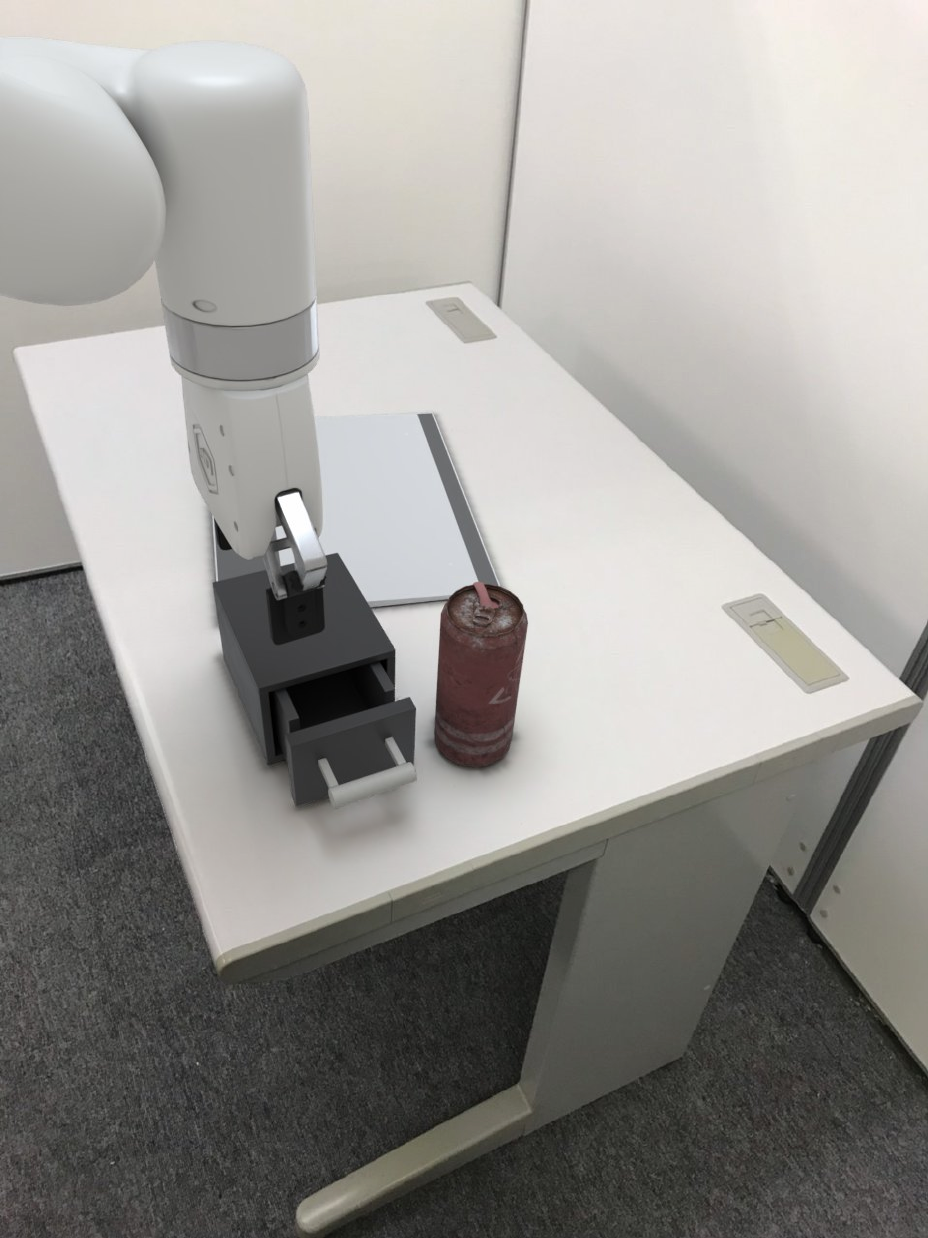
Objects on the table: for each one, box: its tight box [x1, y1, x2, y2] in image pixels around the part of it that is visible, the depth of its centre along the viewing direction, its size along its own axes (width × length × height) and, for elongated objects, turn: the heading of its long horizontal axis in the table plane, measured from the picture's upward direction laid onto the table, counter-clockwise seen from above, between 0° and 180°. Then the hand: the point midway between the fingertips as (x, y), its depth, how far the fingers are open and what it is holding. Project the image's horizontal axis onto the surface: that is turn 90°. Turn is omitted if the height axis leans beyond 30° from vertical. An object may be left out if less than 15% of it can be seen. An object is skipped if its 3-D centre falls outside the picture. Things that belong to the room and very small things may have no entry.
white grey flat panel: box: [211, 412, 501, 608], centre depth 98 cm, size 32×26×1 cm
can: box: [433, 582, 529, 768], centre depth 72 cm, size 6×6×14 cm
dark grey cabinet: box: [211, 553, 397, 765], centre depth 76 cm, size 12×10×8 cm
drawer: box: [269, 661, 418, 809], centre depth 71 cm, size 15×9×7 cm, turn 26°
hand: (269, 587), depth 60 cm, fingers open, 9 cm apart
